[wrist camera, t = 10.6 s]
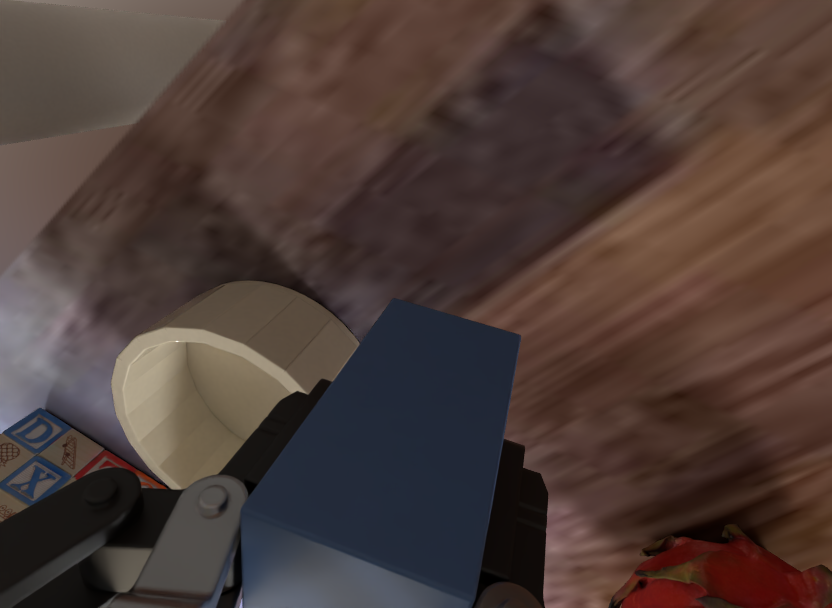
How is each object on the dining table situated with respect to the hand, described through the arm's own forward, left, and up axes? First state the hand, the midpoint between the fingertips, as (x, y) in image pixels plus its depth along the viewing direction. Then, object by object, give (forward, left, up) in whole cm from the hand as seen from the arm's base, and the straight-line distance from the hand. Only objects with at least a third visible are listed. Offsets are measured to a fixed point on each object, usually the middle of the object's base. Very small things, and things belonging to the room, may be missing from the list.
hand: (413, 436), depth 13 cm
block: (0, 0, -3) cm, 3 cm away
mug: (-4, -14, -12) cm, 19 cm away
